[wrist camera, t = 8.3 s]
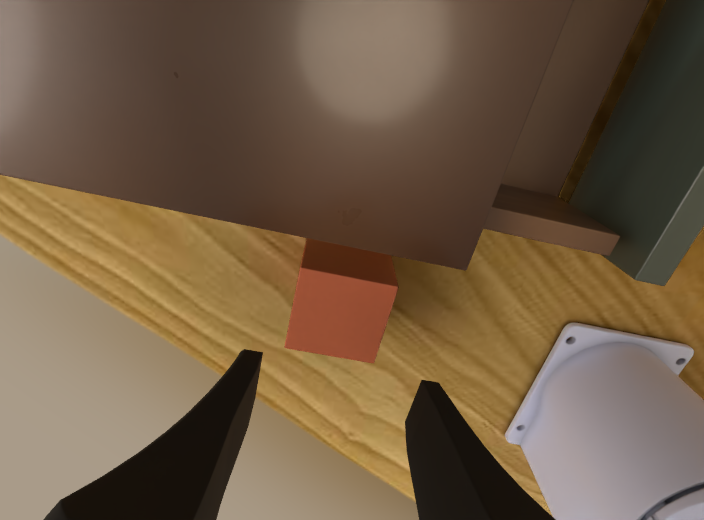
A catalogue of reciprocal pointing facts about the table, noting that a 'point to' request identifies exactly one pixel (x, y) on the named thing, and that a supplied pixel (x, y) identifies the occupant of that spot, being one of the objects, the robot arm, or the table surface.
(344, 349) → the block
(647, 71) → the drawer
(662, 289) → the table surface
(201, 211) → the cabinet
